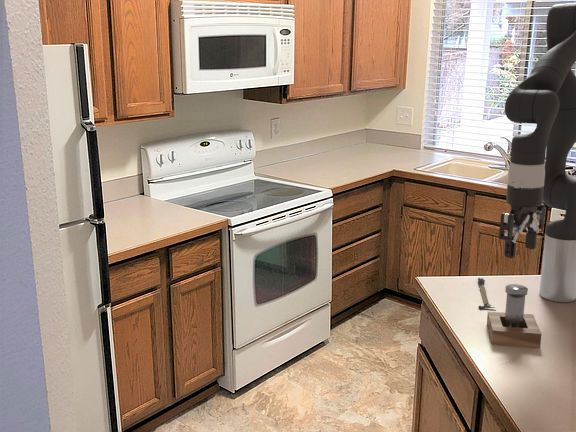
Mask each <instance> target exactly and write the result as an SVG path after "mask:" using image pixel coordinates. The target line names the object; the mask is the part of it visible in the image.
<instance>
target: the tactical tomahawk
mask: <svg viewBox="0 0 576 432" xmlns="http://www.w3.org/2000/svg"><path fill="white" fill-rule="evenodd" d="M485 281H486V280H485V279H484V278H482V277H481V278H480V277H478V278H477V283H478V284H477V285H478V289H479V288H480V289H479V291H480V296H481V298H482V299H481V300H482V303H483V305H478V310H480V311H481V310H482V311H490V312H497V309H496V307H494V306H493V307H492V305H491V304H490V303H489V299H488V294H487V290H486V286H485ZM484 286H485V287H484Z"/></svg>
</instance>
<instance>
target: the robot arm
mask: <svg viewBox="0 0 576 432" xmlns="http://www.w3.org/2000/svg"><path fill="white" fill-rule="evenodd" d="M545 27H546V29H545V32H546V48H547V49H546V52H545V53H544V54H542V55H541V56H540V57H539V59H538V60H537V61H536V62H535V64H534V66H533V68H532V70H531V72H530V74H529V75H528V76H527V77H525V78H524V80H522V81H520V83H518V84H517V86H515V87H514V88H513V89H512V90H511V92H510V93H509V94H508V96H507V99H506V100H505V104H504V113H505V116H506V118H507V119H508V120H509V121H510V122H512V123H516V124H534V125H536V127H535V129H534V130H533V132H527V133H521V134H518V135H515V136H514V137H512V141H511V145H510V159H509V160H510V162H509V166H508V167H509V168H508V171H507V172H508V173H507V186H506V196H505V197H506V199H505V201H506V203H507V204H508V205H510V211H509V213H508V212H507V213H506V212H502V213H501V216H500V223H499V234H498V239H499V240H501V241H504V254H503V255H504V257H505V258H508V259H514V258H516V250H517V249H516V248H517V240H518V238H519V235H521V234H522V233H523V231H524V229H525V230H526V233H525V243H524V244H525V245H524V246H525V248H526V249H529V250H535V249H536V248H537V247H536V246H537V237H538V236H537V235H538V234H539V233H540V230H543V229H544V226H545V231H544V243H543V254H542V263H541V274H540V283H539V284H540V285H539V291H538V292H539V293H538V294H539V296H540V297H542V298H543V299H545V300H547V301H551V302H557V303H571V302H574V301H576V175H573V174H567V173H566V172H567V171H566V168H567V166H566V165H567V160H568V155H569V153H570V151H571V150H572V148H573V146H575V144H576V74H575V73H574V72H573V70H572V68H573V66H574V64H575V63H576V2H568V3H559V4H554V5H552V6H551V7H550V8H549V10H548V13H547V16H546V26H545ZM546 206H547V207H549V208H553V209H555V210H556V209H557V210H561V211H565V213H564V217H563V219H557V220H552V221H549V222H547V223H546V225H544V224H545V208H546Z"/></svg>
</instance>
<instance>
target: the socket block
mask: <svg viewBox="0 0 576 432" xmlns="http://www.w3.org/2000/svg"><path fill="white" fill-rule="evenodd" d="M486 315H487V316H486V317H487V318H486V327H487V331H488V334H489V338H490V343H491V345H492V346H508V347H519V346H522V347H521V348H523V347H524V348H534V349H536V348H537V349H540V348H541V341H542V334H543V333H542V331H541V330H540V326H539V325H538V323H537V320H536V318H535V316H534V314H532V313H524V316H523V327H522V328H515V327H504V323H505V312H499V311H487V314H486Z"/></svg>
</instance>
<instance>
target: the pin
mask: <svg viewBox="0 0 576 432" xmlns="http://www.w3.org/2000/svg"><path fill="white" fill-rule="evenodd" d="M504 290H505V291H504V292H505V293H506V300H505V301H506V302H505V311H504V313H505V323H504V327H515V328H522V327H523V316H524V314H525V304H526V296H527V295H528V287H527V286H524V285H521V284H518V283H517V284H516V283H514V284H513V283H512V284H507V285H505V289H504Z"/></svg>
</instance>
